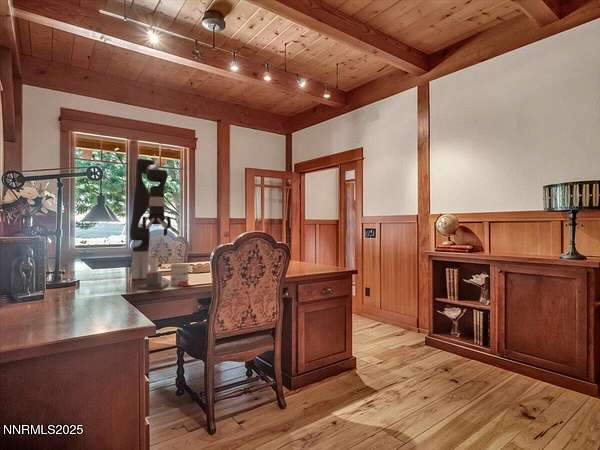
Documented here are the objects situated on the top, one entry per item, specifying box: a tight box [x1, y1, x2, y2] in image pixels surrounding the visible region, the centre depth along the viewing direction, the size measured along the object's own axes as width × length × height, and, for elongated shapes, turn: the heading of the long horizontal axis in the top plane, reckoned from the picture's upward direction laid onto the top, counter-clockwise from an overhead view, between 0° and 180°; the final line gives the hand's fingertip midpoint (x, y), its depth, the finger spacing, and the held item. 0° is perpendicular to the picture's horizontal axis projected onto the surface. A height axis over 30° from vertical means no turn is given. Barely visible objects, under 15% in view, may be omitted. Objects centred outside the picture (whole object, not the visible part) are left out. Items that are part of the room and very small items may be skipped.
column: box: [149, 254, 159, 273], centre depth 186 cm, size 4×4×16 cm
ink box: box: [170, 263, 189, 286], centre depth 196 cm, size 9×5×12 cm, turn 84°
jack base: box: [137, 271, 169, 291], centre depth 186 cm, size 12×12×8 cm
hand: (156, 235), depth 186 cm, fingers open, 8 cm apart
